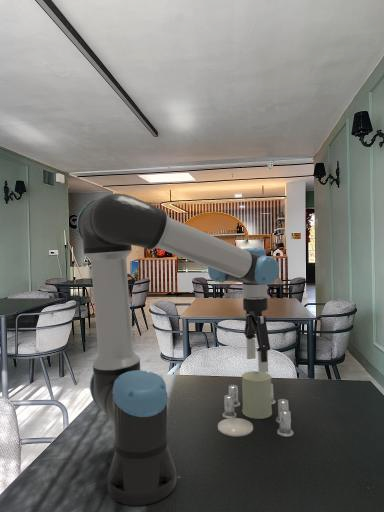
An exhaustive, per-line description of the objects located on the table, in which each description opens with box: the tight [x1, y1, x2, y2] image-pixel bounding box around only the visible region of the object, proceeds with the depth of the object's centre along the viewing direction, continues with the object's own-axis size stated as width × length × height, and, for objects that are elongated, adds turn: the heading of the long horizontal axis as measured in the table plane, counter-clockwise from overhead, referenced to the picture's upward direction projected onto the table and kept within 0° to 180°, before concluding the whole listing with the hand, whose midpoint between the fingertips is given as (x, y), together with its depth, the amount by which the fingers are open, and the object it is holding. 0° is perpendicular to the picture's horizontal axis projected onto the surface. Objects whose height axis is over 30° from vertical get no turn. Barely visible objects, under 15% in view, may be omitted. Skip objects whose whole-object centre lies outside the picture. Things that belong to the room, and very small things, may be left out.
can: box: [241, 370, 273, 420], centre depth 118 cm, size 9×9×12 cm
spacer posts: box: [222, 382, 294, 438], centre depth 115 cm, size 25×19×6 cm
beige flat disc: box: [217, 417, 254, 438], centre depth 109 cm, size 10×10×1 cm
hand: (256, 365), depth 118 cm, fingers open, 13 cm apart
